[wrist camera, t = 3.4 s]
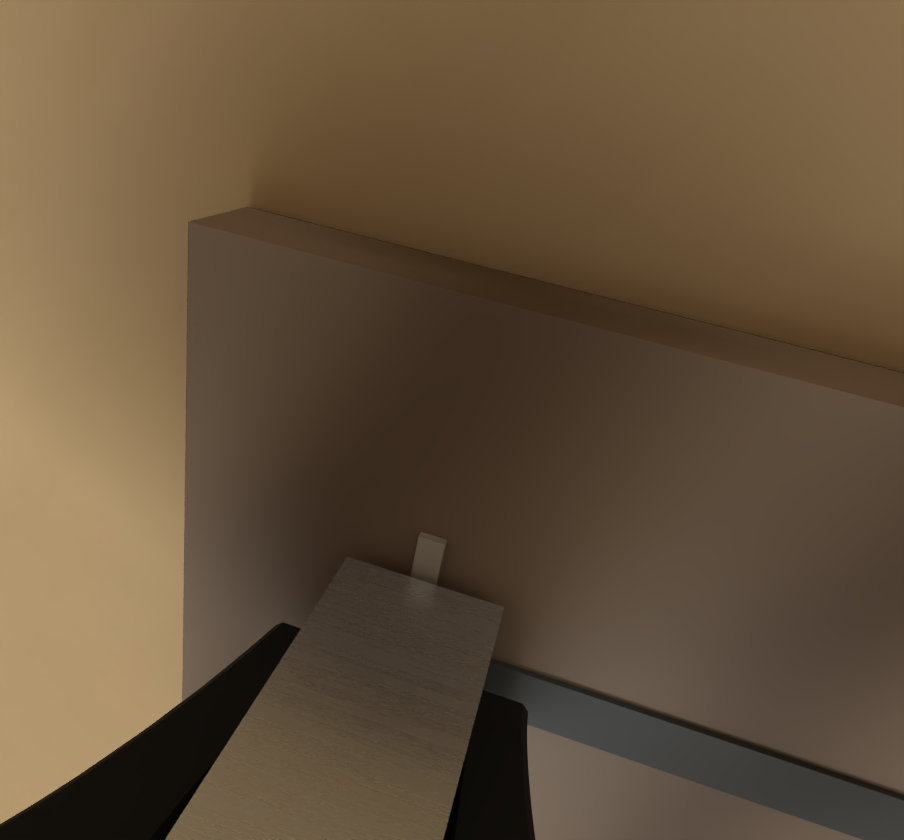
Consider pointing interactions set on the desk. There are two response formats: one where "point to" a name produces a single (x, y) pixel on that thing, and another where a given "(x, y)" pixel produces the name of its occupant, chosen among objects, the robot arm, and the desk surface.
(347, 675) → the fader tab
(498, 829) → the robot arm
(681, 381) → the console board
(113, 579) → the desk surface
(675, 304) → the desk surface
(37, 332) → the desk surface
